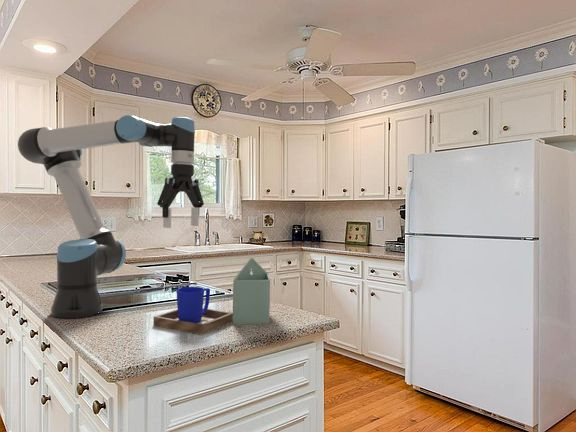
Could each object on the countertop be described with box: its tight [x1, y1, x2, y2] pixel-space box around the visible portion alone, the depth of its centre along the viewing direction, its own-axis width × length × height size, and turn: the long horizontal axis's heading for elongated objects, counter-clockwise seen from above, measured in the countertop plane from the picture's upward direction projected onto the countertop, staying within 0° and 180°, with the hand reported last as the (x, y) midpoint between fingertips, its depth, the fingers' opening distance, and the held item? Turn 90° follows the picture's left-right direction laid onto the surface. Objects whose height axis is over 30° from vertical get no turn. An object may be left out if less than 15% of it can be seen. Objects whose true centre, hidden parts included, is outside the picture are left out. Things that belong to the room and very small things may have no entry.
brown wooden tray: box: [152, 307, 233, 335], centre depth 134 cm, size 18×16×3 cm
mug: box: [175, 286, 211, 323], centre depth 134 cm, size 8×12×10 cm
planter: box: [232, 257, 271, 325], centre depth 138 cm, size 16×8×20 cm, turn 143°
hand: (181, 226), depth 150 cm, fingers open, 13 cm apart
